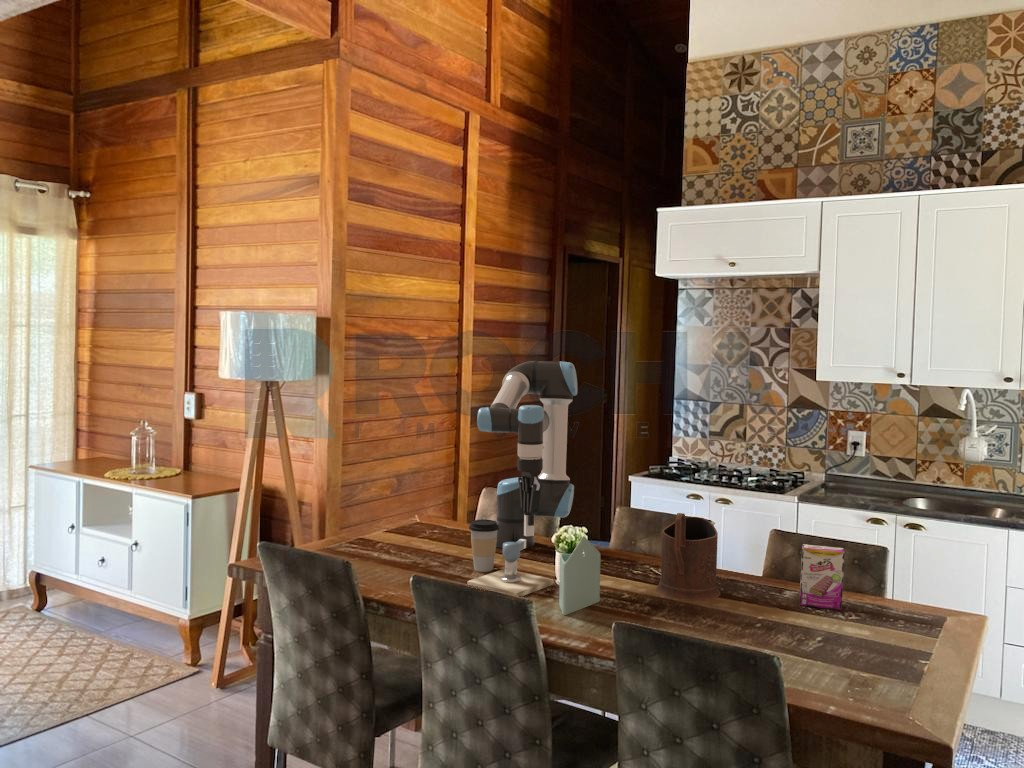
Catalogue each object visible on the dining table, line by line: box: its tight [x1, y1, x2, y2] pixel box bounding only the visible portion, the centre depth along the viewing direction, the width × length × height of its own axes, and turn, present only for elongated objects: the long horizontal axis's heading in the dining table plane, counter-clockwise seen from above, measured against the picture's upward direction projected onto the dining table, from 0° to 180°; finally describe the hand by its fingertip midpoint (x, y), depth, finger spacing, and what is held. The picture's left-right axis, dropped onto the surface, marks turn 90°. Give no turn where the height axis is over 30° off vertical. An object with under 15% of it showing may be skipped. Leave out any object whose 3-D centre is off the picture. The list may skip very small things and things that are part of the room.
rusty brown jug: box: [655, 512, 722, 602], centre depth 248 cm, size 18×24×25 cm
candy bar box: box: [799, 543, 845, 611], centre depth 239 cm, size 11×5×16 cm, turn 71°
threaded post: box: [500, 559, 521, 583], centre depth 253 cm, size 6×6×6 cm
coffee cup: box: [468, 518, 499, 573], centre depth 270 cm, size 9×9×15 cm
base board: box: [466, 568, 554, 597], centre depth 254 cm, size 18×18×2 cm
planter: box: [558, 535, 601, 616], centre depth 235 cm, size 16×8×20 cm, turn 140°
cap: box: [502, 539, 527, 560], centre depth 257 cm, size 12×5×4 cm, turn 158°
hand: (529, 535), depth 259 cm, fingers closed
